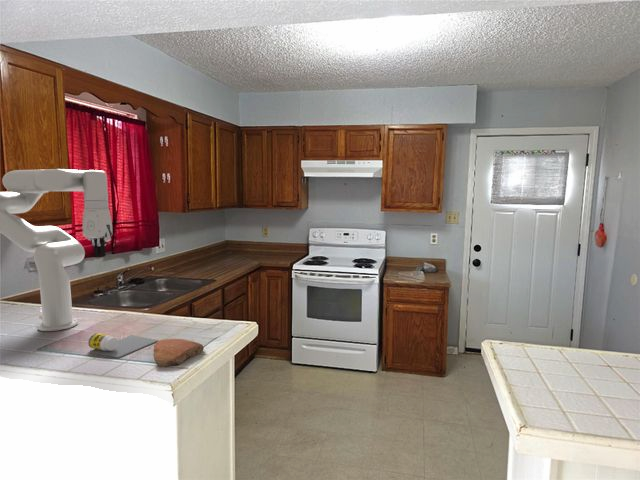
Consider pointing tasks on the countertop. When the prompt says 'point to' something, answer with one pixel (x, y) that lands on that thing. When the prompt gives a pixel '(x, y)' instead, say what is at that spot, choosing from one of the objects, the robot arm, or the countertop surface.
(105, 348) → the supplement bottle
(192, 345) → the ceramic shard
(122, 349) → the mat
